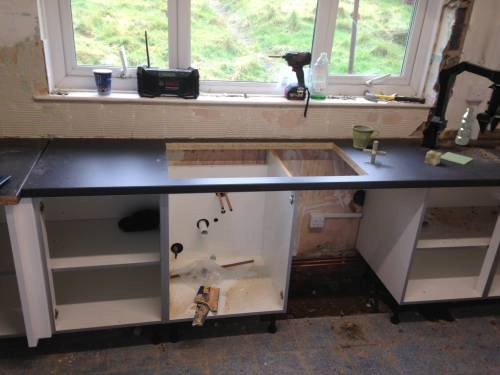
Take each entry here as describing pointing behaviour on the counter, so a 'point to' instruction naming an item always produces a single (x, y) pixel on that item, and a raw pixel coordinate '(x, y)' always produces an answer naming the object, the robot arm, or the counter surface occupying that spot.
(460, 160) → the sage mat
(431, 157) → the beech block
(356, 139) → the ceramic cup
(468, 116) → the silver ribbed metal bottle
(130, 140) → the counter surface
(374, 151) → the pipe connector
